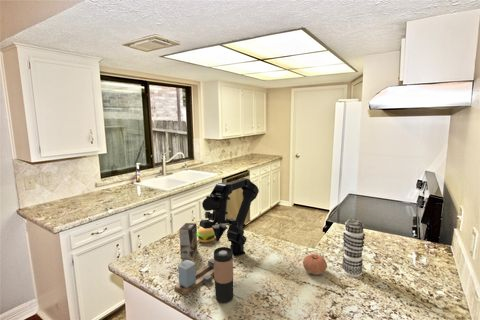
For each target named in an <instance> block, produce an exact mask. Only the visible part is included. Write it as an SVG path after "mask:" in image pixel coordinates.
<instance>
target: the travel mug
mask: <svg viewBox="0 0 480 320" xmlns="http://www.w3.org/2000/svg"><path fill="white" fill-rule="evenodd" d="M233 257H234V255H233V252H232V249H230V247H226V246H222V247H221V246H220V247H218V248H217V247H216V249H214V251H213V259H214V276H213V277H214V293H215V294H214V295H215V300H216V301H217V302H218V303H220V304H228V303H230V302H231V301H233V299H234V259H233Z"/></svg>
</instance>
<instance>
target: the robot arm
mask: <svg viewBox="0 0 480 320" xmlns="http://www.w3.org/2000/svg"><path fill="white" fill-rule="evenodd" d="M238 189H241V190H242V193H241V194H242V202H241V204H240V206H239V209H238V212H237V215H236V217H235V219H234V218H226V217H227V216H226V215H228V211H227V208H228V207H227V206H228V205H227V204H228V200H230V201H231V198H230V196H229V195H232V193H233V191H236V190H238ZM259 192H260V191H259V188H258V186H257V185H256V184H255V183H254V182H253V181H251V180H250V179H249V178H244V177H242V178H241V177H240V178H239V179H236V180H232V181H230V182H229V181H228V182H216V184H215V186H214V188H213V189H212V191H211V192H210V194H209V195H206V197H205V199H203V201H202V203H201V206H202V209H203V210H204V211H205V214H204V218H205V219H201V220H200V221H199V226H200V227H203V228H205V229H208V228H213V230H214V233H215V241H216V242H219V241H220V240H221V238H222V235H223V234H224V233H225V232H226V237H227V241H228V242H230V244H229V248H230V249H232V252H233V257H238V256H241V255H245V254H246V251H245V247H244V246H245V244H246V242H247V237H246V236H245V235H244V233H245V230H244V224H245V222H246V219H247V216H248V213H249V210H250V208H251V205H252V202H253V201H255V199H256V198H257V196H258V194H259ZM211 211H212V212H211ZM227 225H228V227H227Z"/></svg>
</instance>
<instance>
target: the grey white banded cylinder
mask: <svg viewBox="0 0 480 320" xmlns="http://www.w3.org/2000/svg"><path fill="white" fill-rule="evenodd" d="M344 225H345V228H344V232H343V236H342V237H343V238H342V240H343V243H342V244H343V245H342V246H343V250H344V251H343V256H342V267H341V268H342V269H341V270H342V272H343V273H344V274H345V275H347V276H349V277H353V278H358V277H361V276H362V274H363V262H364V259H363V251H364V247H365V245H364V244H365V241H364V240H365V239H366V238H365V237H366V233H365V232H364V227H365V224H364V223H363V222H362V221H361V220H359V219H356V218H350V219H349V218H348V219H347V220H346V221H344Z"/></svg>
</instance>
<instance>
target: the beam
mask: <svg viewBox="0 0 480 320" xmlns="http://www.w3.org/2000/svg"><path fill="white" fill-rule="evenodd" d="M195 276H196V282H195V283H194V284H192V285H191V286H190V287H188V288H184V287H183V286H182V285H180V284H179V282H178V283H176V284H175V285H174V290H175V291H176V292H178V293H180V294H183V295H184V296H188V295H189V294H190V293H191V292H193V291H194V290H196V289H197V288H198V287H200V286H201V285H203V284H206V285H209V284H211V283H212V282H213V277H214V257H213V258H210V259H209V260H207V264H206V265H204V266H202V267H200V269H198V270H196V271H195Z"/></svg>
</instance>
